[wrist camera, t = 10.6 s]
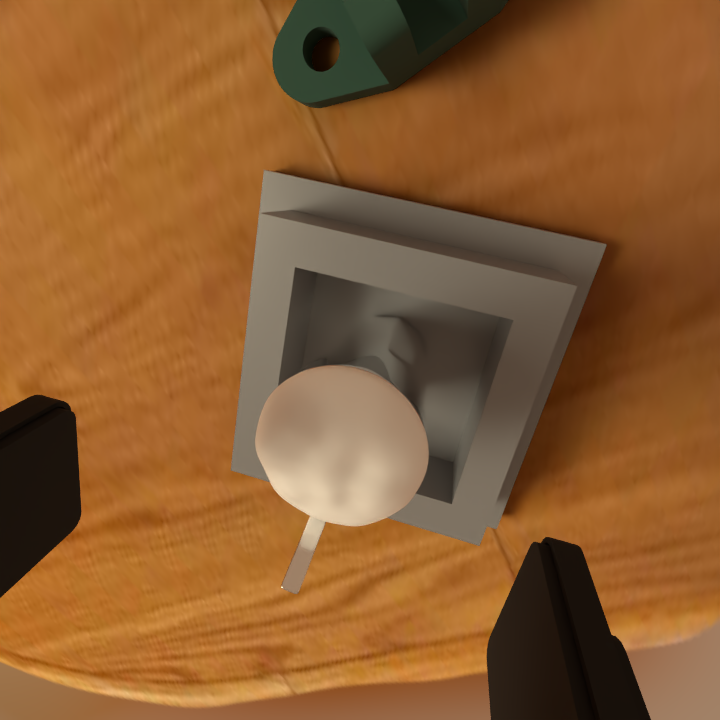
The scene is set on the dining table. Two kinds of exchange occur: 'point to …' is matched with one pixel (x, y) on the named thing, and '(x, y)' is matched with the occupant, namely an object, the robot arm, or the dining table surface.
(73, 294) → the dining table surface
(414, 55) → the mount
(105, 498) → the dining table surface
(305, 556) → the milkshake
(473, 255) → the socket
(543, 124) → the dining table surface
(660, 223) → the dining table surface
